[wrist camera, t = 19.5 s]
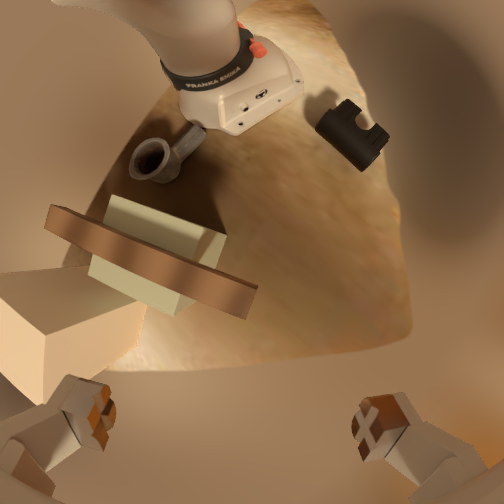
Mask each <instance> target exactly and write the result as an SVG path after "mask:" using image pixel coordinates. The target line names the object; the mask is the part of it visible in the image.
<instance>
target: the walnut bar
mask: <svg viewBox="0 0 504 504" xmlns="http://www.w3.org/2000/svg"><path fill="white" fill-rule="evenodd" d="M44 228H45V229H47V230H48V231H50V232H52V233H54V234H56V235H58V236H59V237H61V238H63V239H65V240H67V241H69V242H71V243H73V244H75V245H77V246H79V247H80V248H82V249H84V250H86V251H88V252H90V253H92V254H94V255H96V256H98V257H100V258H102V259H105V260H107V261H109V262H111V263H113V264H115V265H117V266H119V267H121V268H123V269H125V270H128V271H130V272H132V273H134V274H136V275H138V276H141V277H143V278H145V279H147V280H149V281H152V282H154V283H156V284H158V285H161V286H163V287H165V288H168V289H170V290H172V291H175V292H177V293H179V294H182V295H184V296H186V297H189V298H191V299H194V300H196V301H198V302H201V303H203V304H206V305H208V306H211V307H213V308H216V309H218V310H221V311H223V312H226V313H229V314H231V315H234V316H236V317H239V318H242V319H244V320H246V317H247V315H248V312H249V309H250V307H251V304H252V301H253V299H254V296H255V294H256V291H257V288H258V285H255V284H253V283H250V282H247V281H245V280H242V279H239V278H237V277H234V276H231V275H229V274H226V273H224V272H221V271H218V270H216V269H213V268H211V267H208V266H206V265H203V264H200V263H198V262H195V261H193V260H190V259H188V258H185V257H183V256H180V255H178V254H175V253H173V252H170V251H168V250H165V249H163V248H160V247H158V246H156V245H153V244H151V243H148V242H146V241H143V240H141V239H138V238H136V237H134V236H131V235H129V234H126V233H124V232H122V231H119V230H117V229H115V228H112V227H110V226H108V225H105V224H103V223H101V222H98V221H96V220H94V219H91V218H89V217H87V216H84V215H82V214H80V213H77V212H75V211H73V210H71V209H68V208H66V207H62V206H57V205H52V204H51V205H50V208H49V212H48V215H47V219H46V222H45V226H44Z"/></svg>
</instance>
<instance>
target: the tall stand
mask: <svg viewBox="0 0 504 504" xmlns="http://www.w3.org/2000/svg"><path fill="white" fill-rule="evenodd" d="M89 267H90V266H77V267H66V268H55V269H44V270H33V271H21V272H10V273H0V372H1V373H2V374H3V375H4V376H5V377H6V378H7V379H8V380H9V381H10V382H11V383H12V384H13V385H14V386H15V387H17V388H18V389H19V390H20V391H21V392H22V393H23V394H24V395H25V396H26V397H28V398H29V399H30V400H31V401H32V402H33V403H35V404H36V405H40V404H42V403H43V404H46V403H47V401H48V400H49V398H50V397H51V395H52V394H53V392H54V391H55V389H56V388H57V386H58V385H59V383H60V382H61V380H62V379H63V377H64V376H65V375H67V374H71V375H74V376H77V377H81V378H85V379H88V380H89V379H90V378H92V377H93V376H95V375H96V374H97V373H99V372H100V371H102V370H103V369H105V368H106V367H107V366H109V365H110V364H112V363H113V362H115V361H116V360H117V359H119V358H120V357H122V356H123V355H125V354H126V353H127V352H129V351H130V350H132V349H133V348H134V347H136V346H137V343H138V339H139V336H140V332H141V328H142V324H143V321H144V317H145V314H146V310H147V307H148V305H146V304H144V303H142V302H140V301H138V300H136V299H134V298H132V297H130V296H128V295H126V294H124V293H122V292H120V291H118V290H116V289H114V288H112V287H110V286H108V285H106V284H104V283H102V282H100V281H99V280H97V279H95V278H93V277H91V276H89V275H88V271H89Z"/></svg>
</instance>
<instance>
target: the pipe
mask: <svg viewBox="0 0 504 504" xmlns="http://www.w3.org/2000/svg"><path fill="white" fill-rule="evenodd" d="M206 138H207V134H206V133H205V132H204V130H203V129H201V128H200V127H199V126H198V125H196V124H193V125H192V126H191V127H190V128H189V129H188V130H187V131H186V132H185V133H184V134H183V135H182V136H181V137H180V138H179V139H178V140H177V142H176V143H175V144H174V145H173V146H172V147H171V148H170V147H169V145H168V143H167V142H166V140H164V139H162V138H149V139H147V140H145V141H143V142H142V143H141V144H140V145H139V146H138V147H137V148H136V149H135V150H134V152H133V154H132V156H131V160H130V164H129V174H130V176H131V177H132V178H134V179H137V180H146V179H148V180H152V181H154V182H156V183H160V184H165V183H168V182H170V181H172V180H173V179H175V178H176V177H177V175H178V174H179V172H180V168H181V163H182V162H183V161H184V160H185V159H186V158H187V157H188V156H189V155H190V154H191V153H192V152H193V151H194V150H195V149H196V148H197V147H198V146H199V145H200V144H201V143H202V142H203V141H204V140H205V139H206Z"/></svg>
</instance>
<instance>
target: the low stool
mask: <svg viewBox="0 0 504 504" xmlns="http://www.w3.org/2000/svg"><path fill="white" fill-rule="evenodd" d="M102 223H103V224H105V225H108V226H110V227H112V228H115V229H117V230H119V231H122V232H124V233H126V234H129V235H131V236H134V237H136V238H138V239H141V240H143V241H146V242H148V243H151V244H153V245H156V246H158V247H160V248H163V249H165V250H168V251H170V252H173V253H175V254H178V255H180V256H183V257H185V258H188V259H190V260H193V261H195V262H198V263H200V264H203V265H206V266H208V267H211V268H213V269H215V267H216V265H217V262H218V259H219V256H220V254H221V251H222V248H223V245H224V243H225V240H226V237H227V235H225V234H222V233H219V232H217V231H214V230H211V229H208V228H206V227H203V226H200V225H198V224H195V223H192V222H189V221H187V220H184V219H181V218H179V217H176V216H173V215H170V214H168V213H165V212H162V211H159V210H157V209H154V208H151V207H148V206H145V205H142V204H139V203H136V202H133V201H130V200H128V199H125V198H122V197H119V196H116V195H113V194H112V196H111V198H110V201H109V204H108V207H107V210H106V213H105V216H104V219H103V222H102ZM88 275H89V276H91V277H93V278H95V279H97V280H99V281H100V282H102V283H104V284H106V285H108V286H110V287H112V288H114V289H116V290H118V291H120V292H122V293H124V294H126V295H128V296H130V297H132V298H134V299H136V300H138V301H140V302H142V303H144V304H146V305H149V306H151V307H153V308H155V309H157V310H159V311H162V312H164V313H166V314H168V315H170V316H175V315H176V314H178V313H179V312H181V311H182V310H184V309H185V308H187V307H188V306H190V305H191V304H192V303H194V302H195V301H196V300H194V299H191V298H189V297H186V296H184V295H182V294H179V293H177V292H175V291H172V290H170V289H168V288H165V287H163V286H161V285H158V284H156V283H154V282H152V281H149V280H147V279H145V278H143V277H141V276H138V275H136V274H134V273H132V272H130V271H128V270H125V269H123V268H121V267H119V266H117V265H115V264H113V263H111V262H109V261H107V260H105V259H102V258H100V257H98V256H96V255H94V254H93V256H92V260H91V263H90V267H89V271H88Z"/></svg>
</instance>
